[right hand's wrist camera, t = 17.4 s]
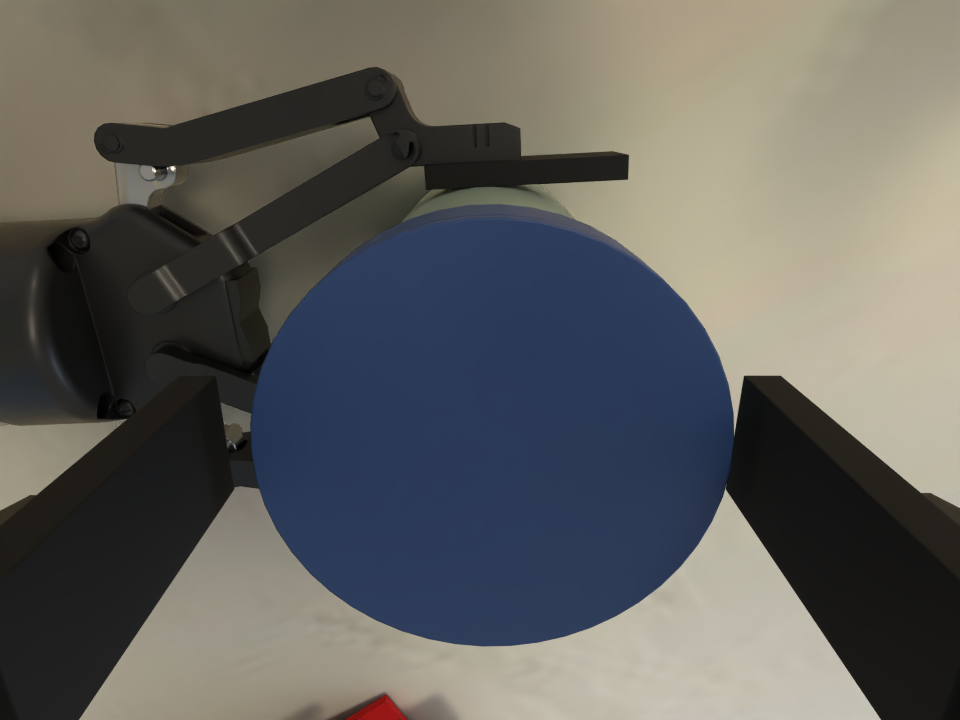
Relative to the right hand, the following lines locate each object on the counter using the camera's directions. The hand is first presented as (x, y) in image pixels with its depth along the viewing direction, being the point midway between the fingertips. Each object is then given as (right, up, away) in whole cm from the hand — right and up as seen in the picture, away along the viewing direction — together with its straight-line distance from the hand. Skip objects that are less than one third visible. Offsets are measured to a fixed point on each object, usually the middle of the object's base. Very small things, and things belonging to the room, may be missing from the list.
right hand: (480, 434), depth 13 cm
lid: (0, 0, -1) cm, 1 cm away
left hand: (+5, +4, +9) cm, 11 cm away
